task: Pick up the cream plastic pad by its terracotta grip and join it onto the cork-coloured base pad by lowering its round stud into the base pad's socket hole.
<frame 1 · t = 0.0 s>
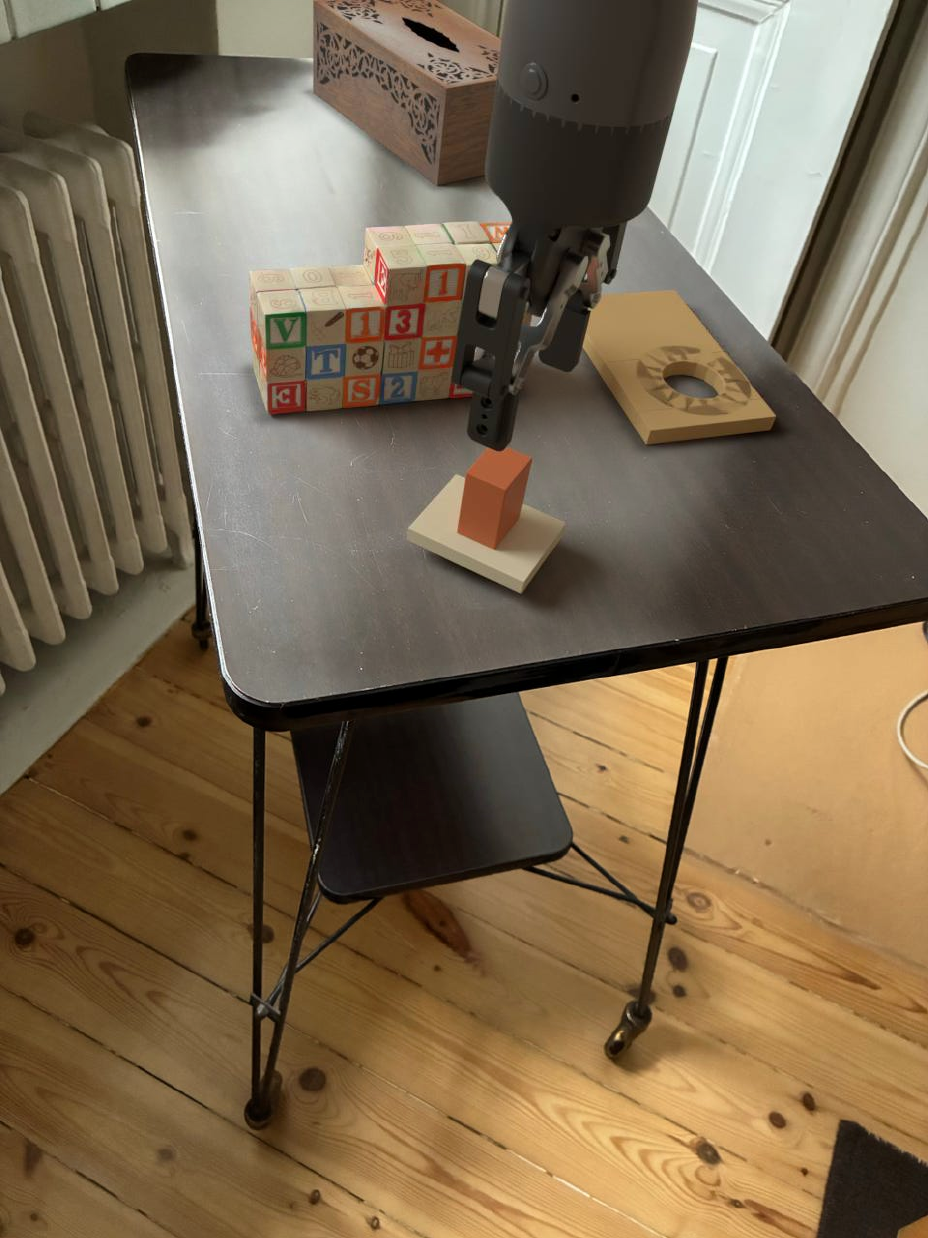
hand: (524, 401, 53), 18 cm above the table, tool pointing down, fingers open, 8 cm apart
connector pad: (483, 550, 71), on the table
base pad: (659, 367, 89), on the table
stack of blocks: (387, 384, 83), on the table
tissue box cover: (422, 128, 117), on the table
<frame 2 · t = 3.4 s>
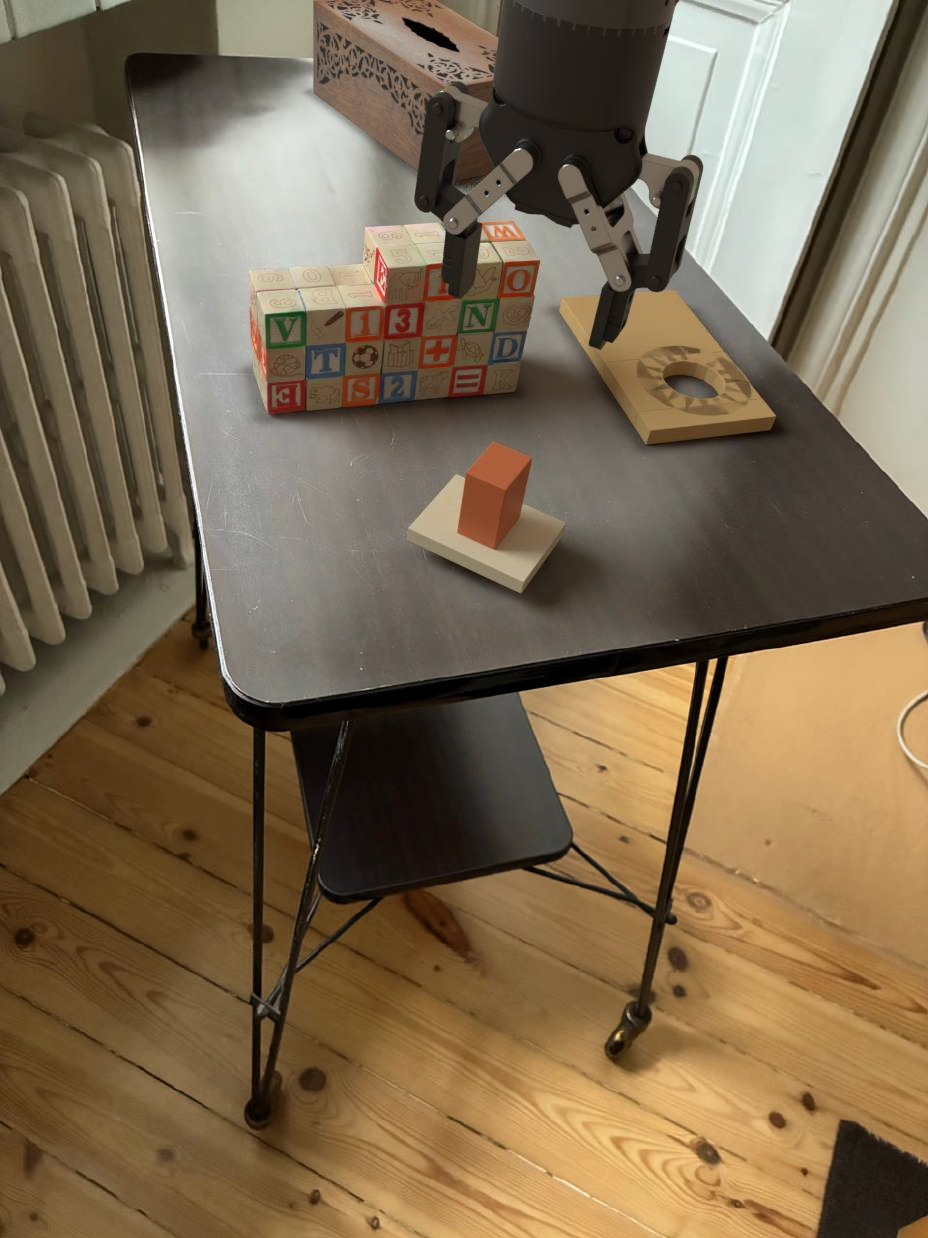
hand: (529, 316, 55), 20 cm above the table, tool pointing down, fingers open, 8 cm apart
nothing on the table moved.
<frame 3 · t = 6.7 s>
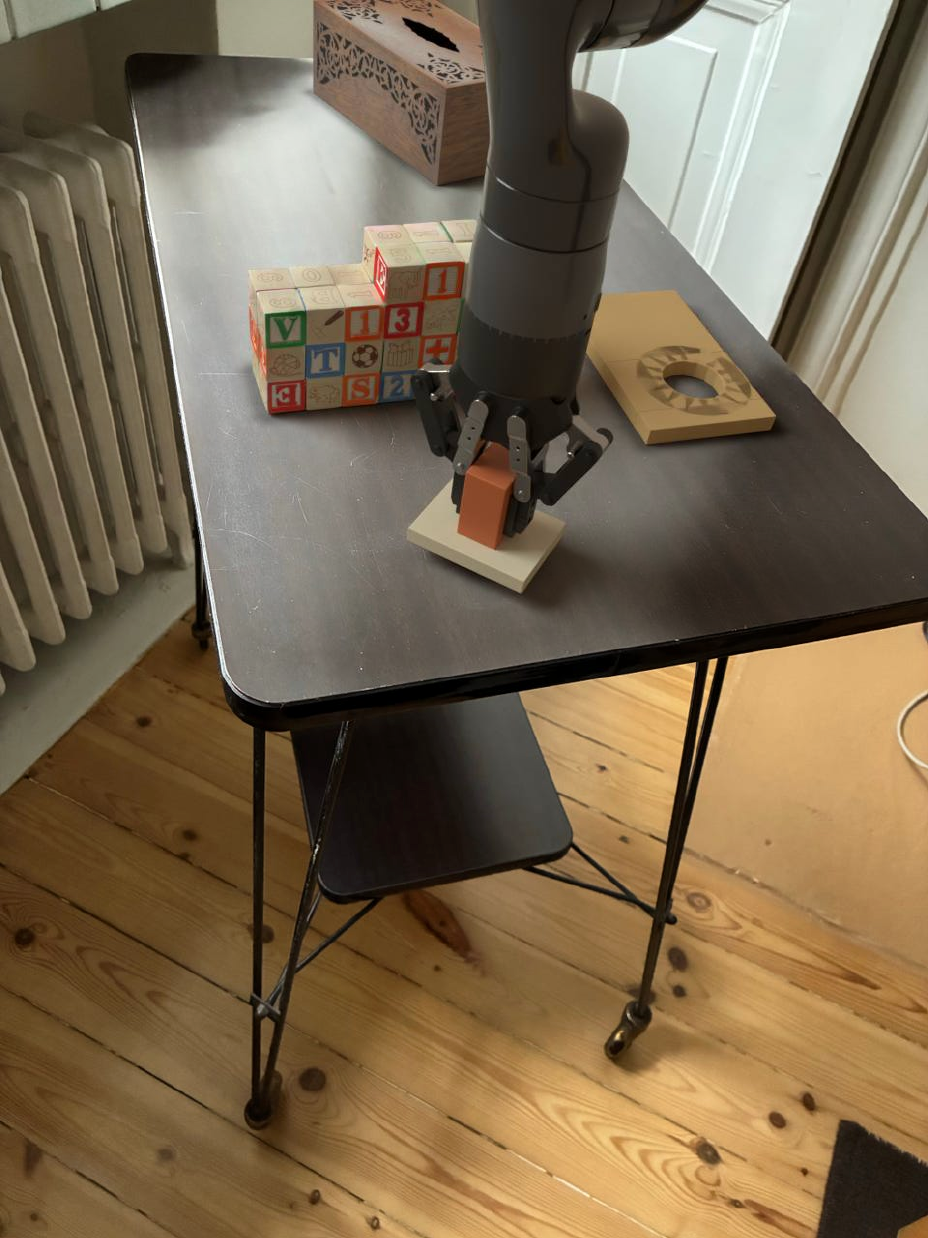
hand: (490, 518, 68), 3 cm above the table, tool pointing down, fingers closed on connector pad, 3 cm apart
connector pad: (483, 550, 71), on the table, touching gripper
everything else where it was.
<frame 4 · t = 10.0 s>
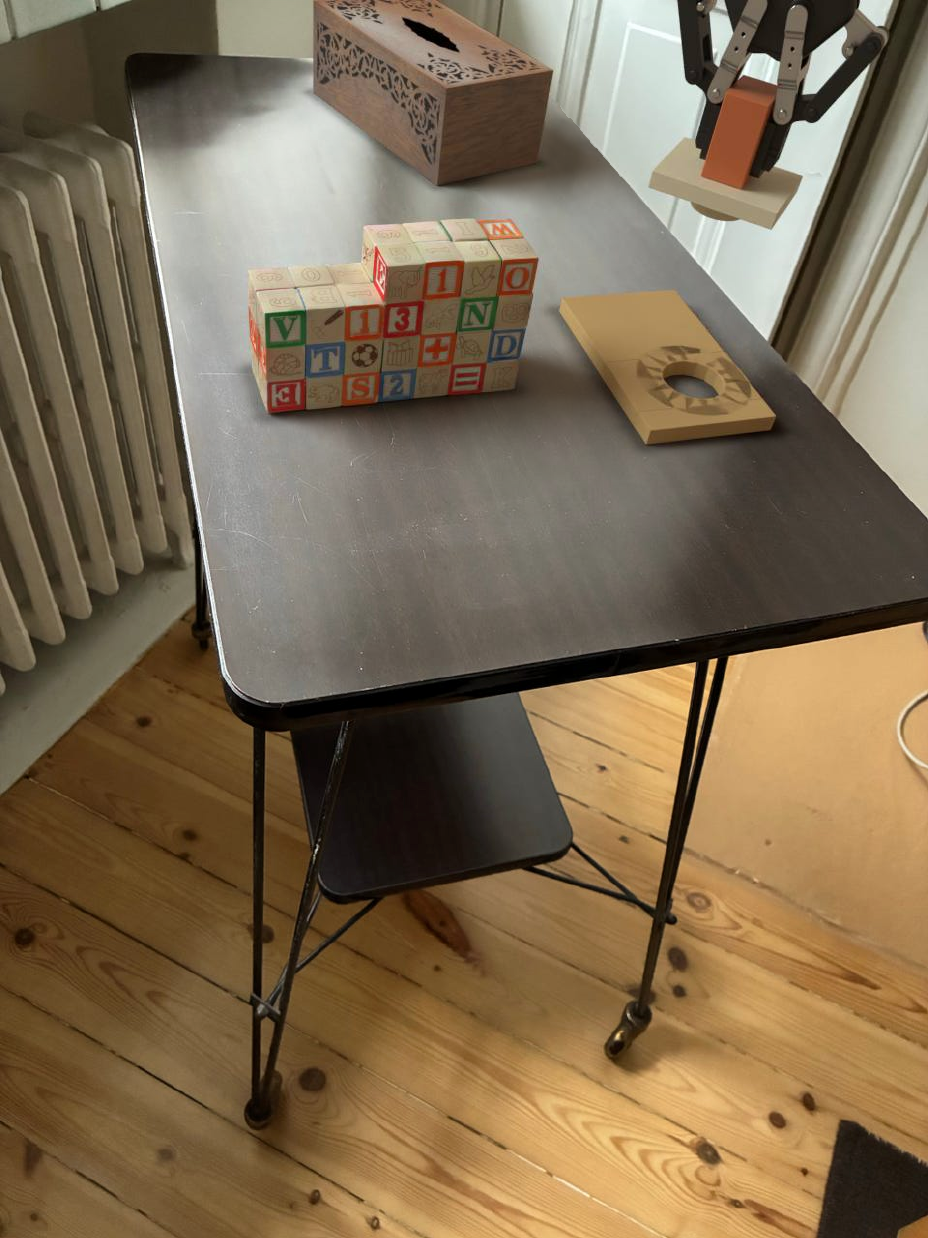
hand: (732, 163, 68), 21 cm above the table, tool pointing down, fingers closed on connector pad, 3 cm apart
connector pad: (717, 207, 70), point 18 cm above the table, touching gripper
everything else where it was.
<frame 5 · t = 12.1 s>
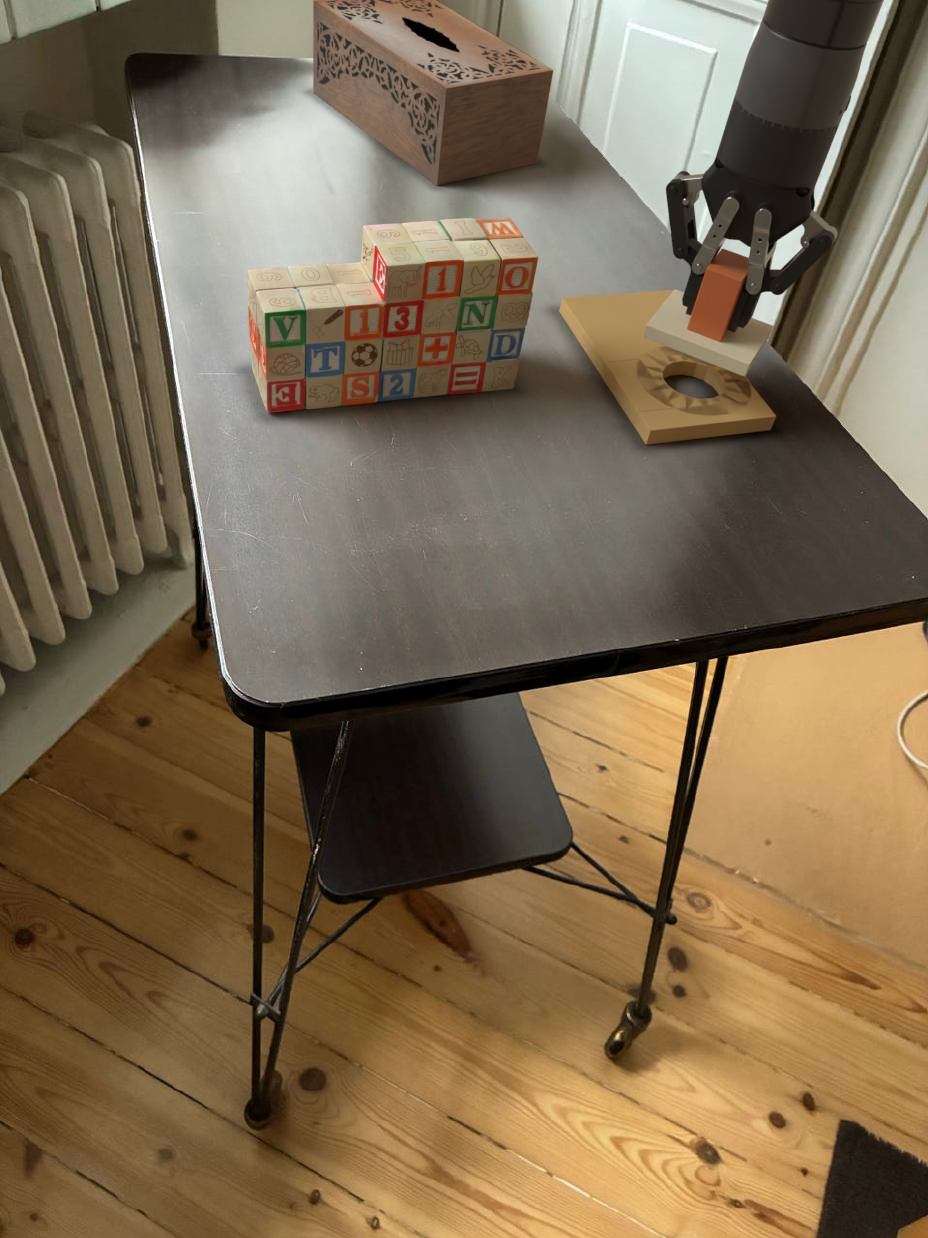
hand: (713, 318, 81), 7 cm above the table, tool pointing down, fingers closed on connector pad, 3 cm apart
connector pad: (701, 350, 84), point 4 cm above the table, touching gripper
everything else where it was.
when the fingers open (3 cm above the table, at t = 13.4 s): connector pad stays where it is, resting on base pad.
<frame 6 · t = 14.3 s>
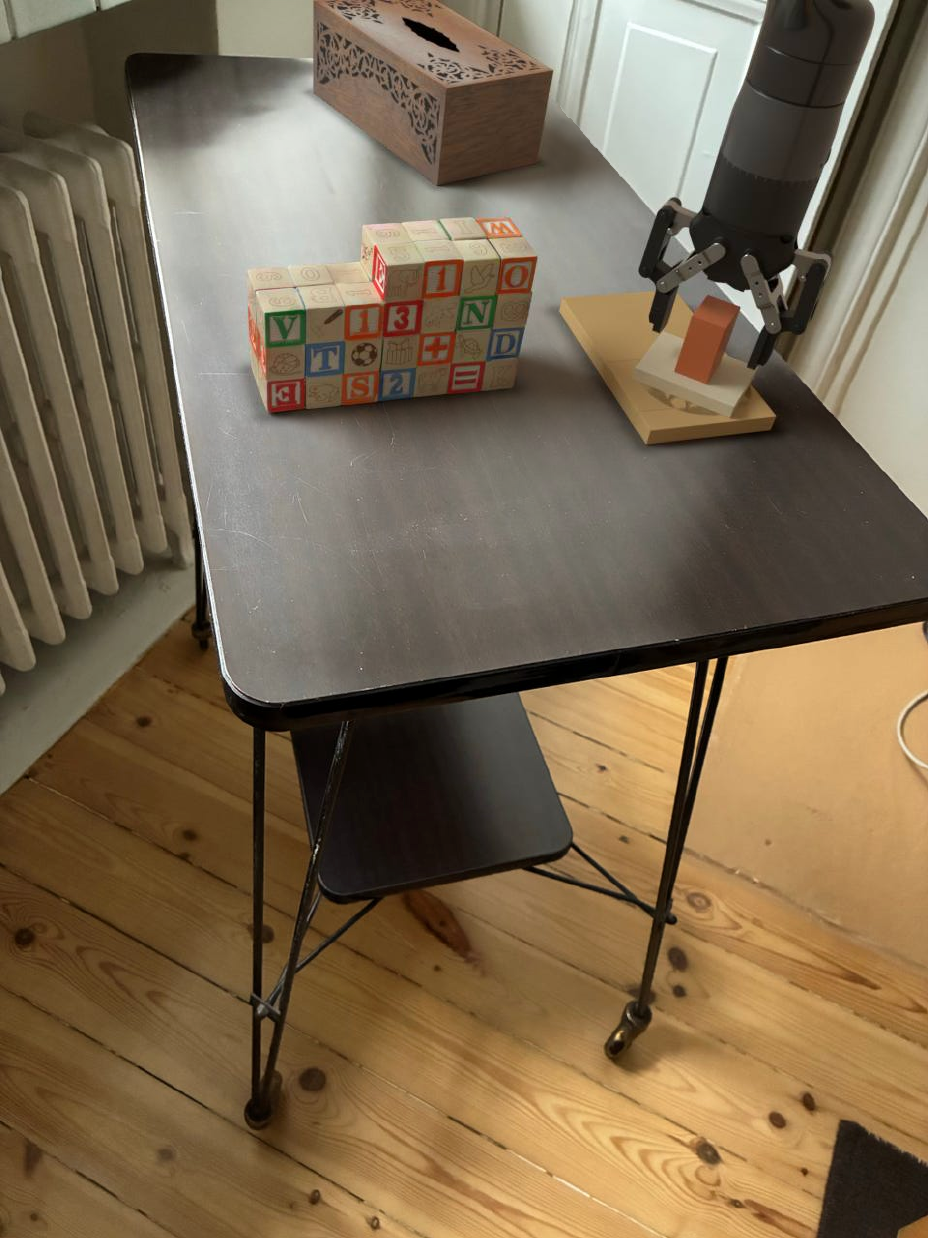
hand: (706, 346, 83), 5 cm above the table, tool pointing down, fingers open, 8 cm apart
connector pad: (689, 391, 87), resting on base pad
everything else where it was.
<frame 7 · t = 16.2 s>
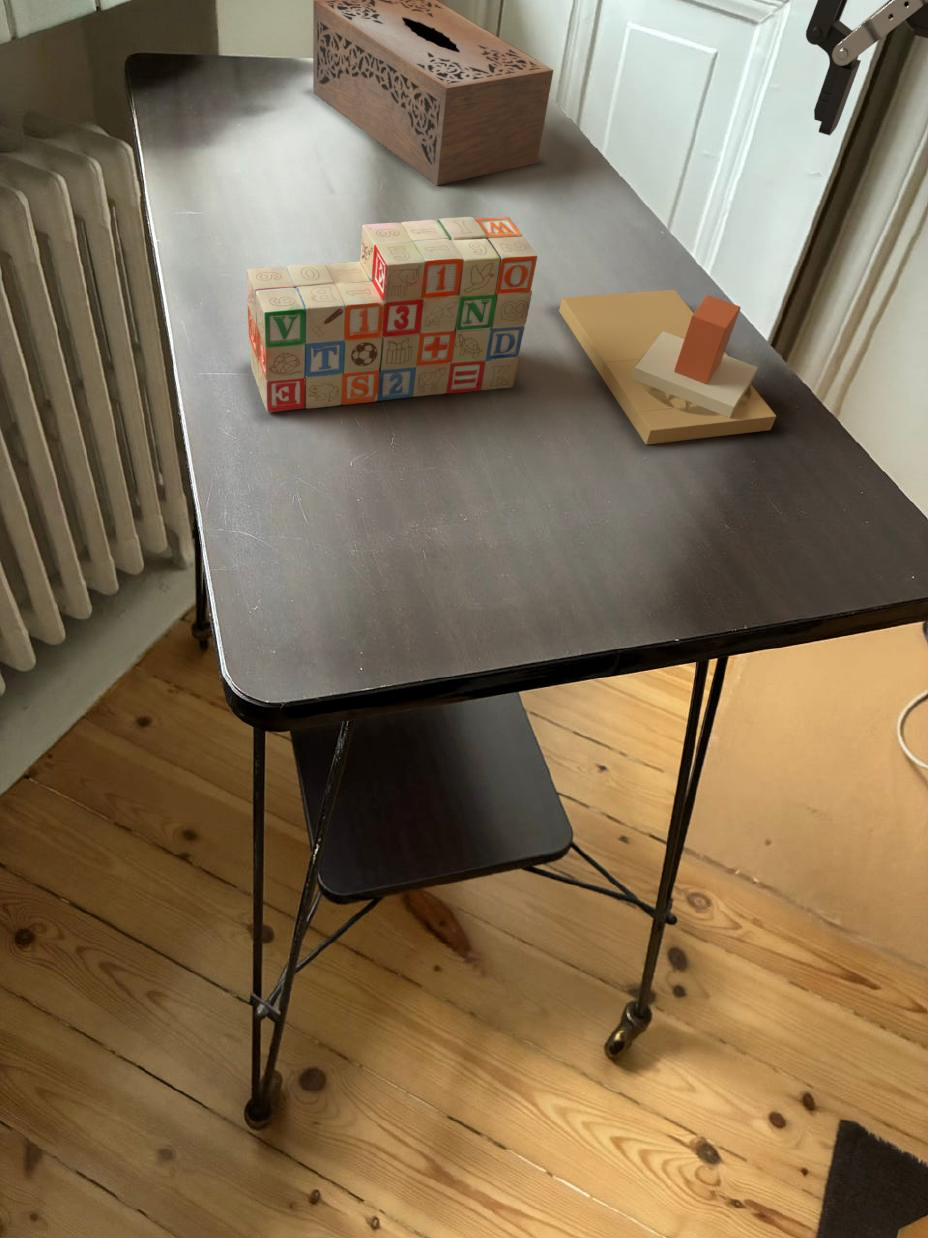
hand: (897, 151, 58), 27 cm above the table, tool pointing down, fingers open, 8 cm apart
nothing on the table moved.
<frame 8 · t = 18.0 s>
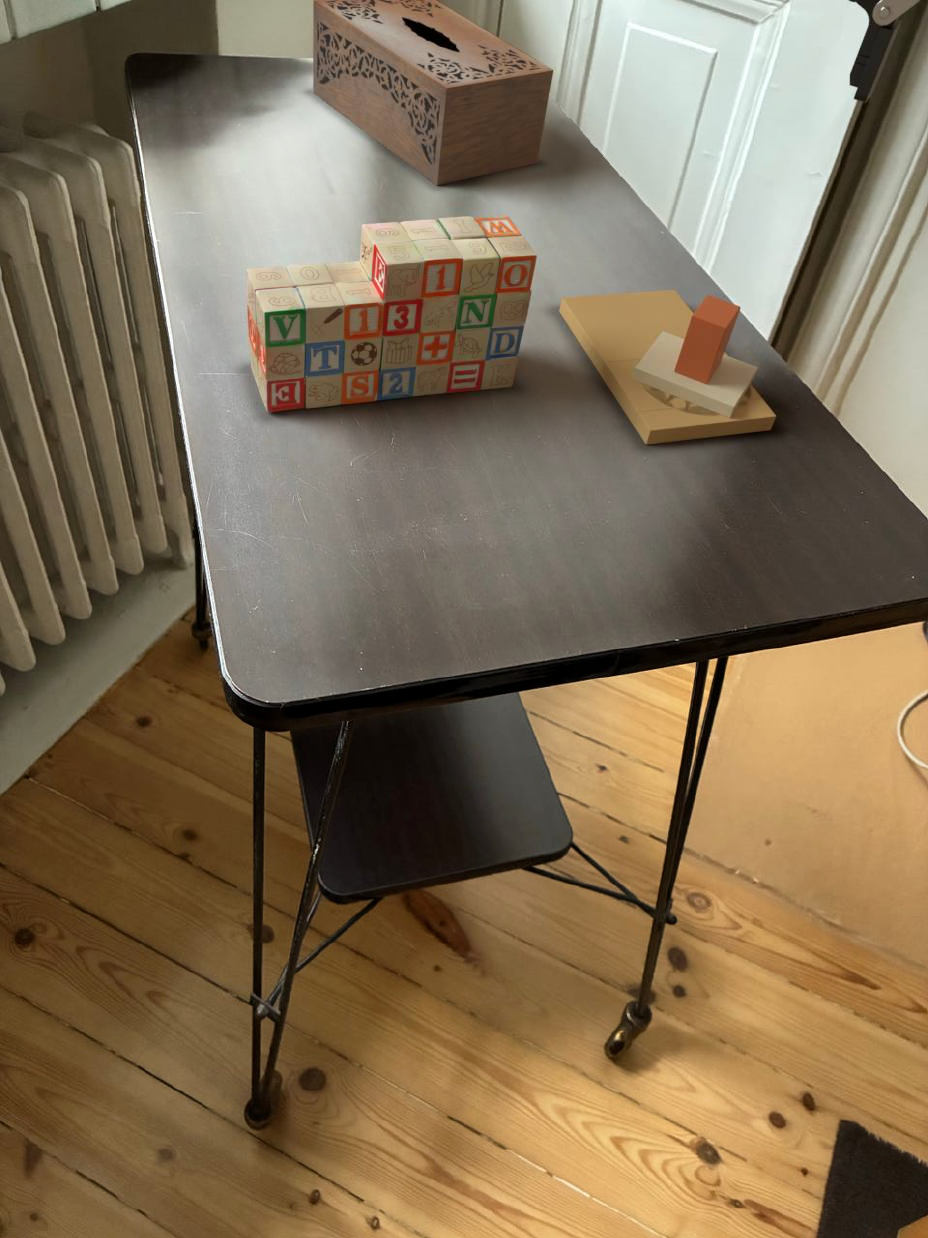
nothing on the table moved.
at the end: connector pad 0.1 cm from the target spot in the base pad, point 0.2 cm above the base pad's base; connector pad tilted 0°; the gripper is holding nothing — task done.
